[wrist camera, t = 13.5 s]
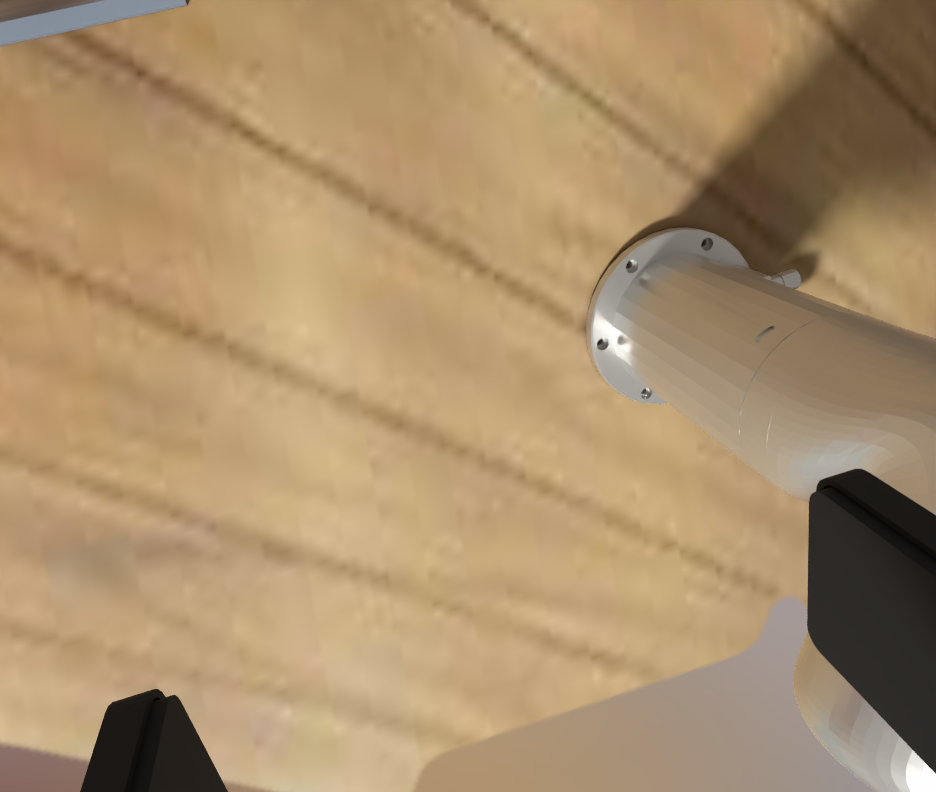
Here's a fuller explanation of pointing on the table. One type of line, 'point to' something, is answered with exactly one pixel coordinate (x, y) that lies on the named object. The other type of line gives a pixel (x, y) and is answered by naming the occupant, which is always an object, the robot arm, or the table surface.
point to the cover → (35, 7)
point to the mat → (79, 18)
